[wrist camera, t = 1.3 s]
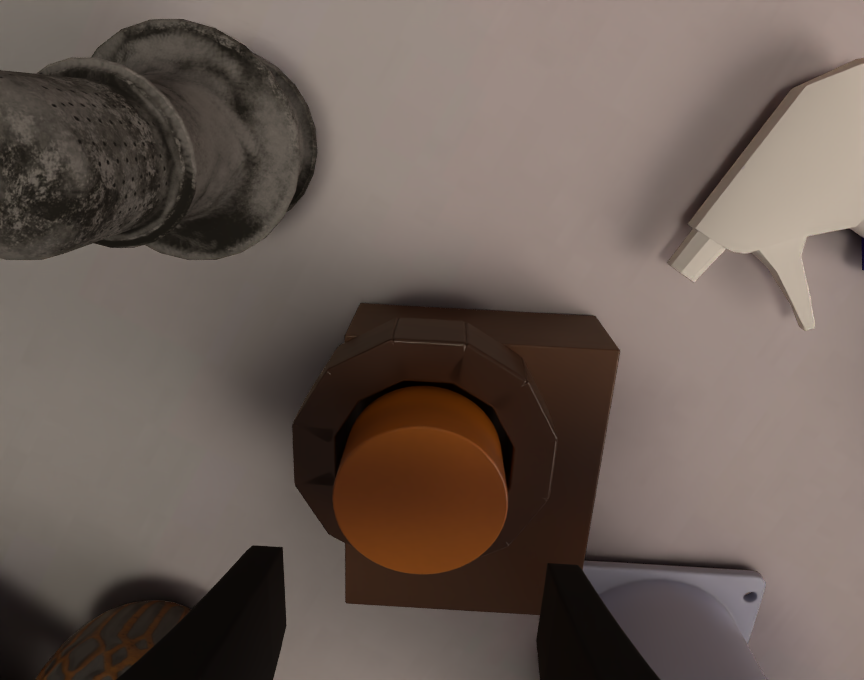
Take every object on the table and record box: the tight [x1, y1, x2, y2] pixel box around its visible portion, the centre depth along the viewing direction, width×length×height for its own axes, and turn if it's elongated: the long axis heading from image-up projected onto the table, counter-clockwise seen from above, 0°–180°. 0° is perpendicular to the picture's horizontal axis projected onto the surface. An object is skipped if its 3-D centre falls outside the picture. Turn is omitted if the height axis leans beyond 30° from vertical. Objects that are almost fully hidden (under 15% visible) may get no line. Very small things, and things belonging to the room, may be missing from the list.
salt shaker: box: [0, 19, 317, 260], centre depth 13 cm, size 6×6×12 cm
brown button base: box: [292, 303, 620, 615], centre depth 20 cm, size 11×9×5 cm
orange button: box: [332, 386, 508, 574], centre depth 16 cm, size 4×4×2 cm
